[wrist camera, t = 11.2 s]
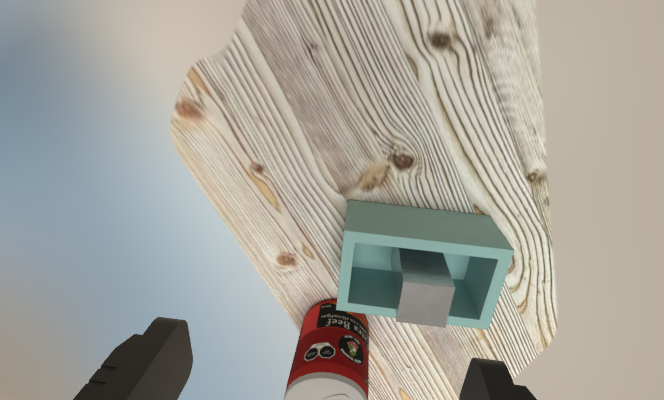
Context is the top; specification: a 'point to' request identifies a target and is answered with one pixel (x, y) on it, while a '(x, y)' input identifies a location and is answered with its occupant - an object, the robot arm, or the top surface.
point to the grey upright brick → (421, 286)
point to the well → (429, 235)
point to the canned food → (330, 356)
